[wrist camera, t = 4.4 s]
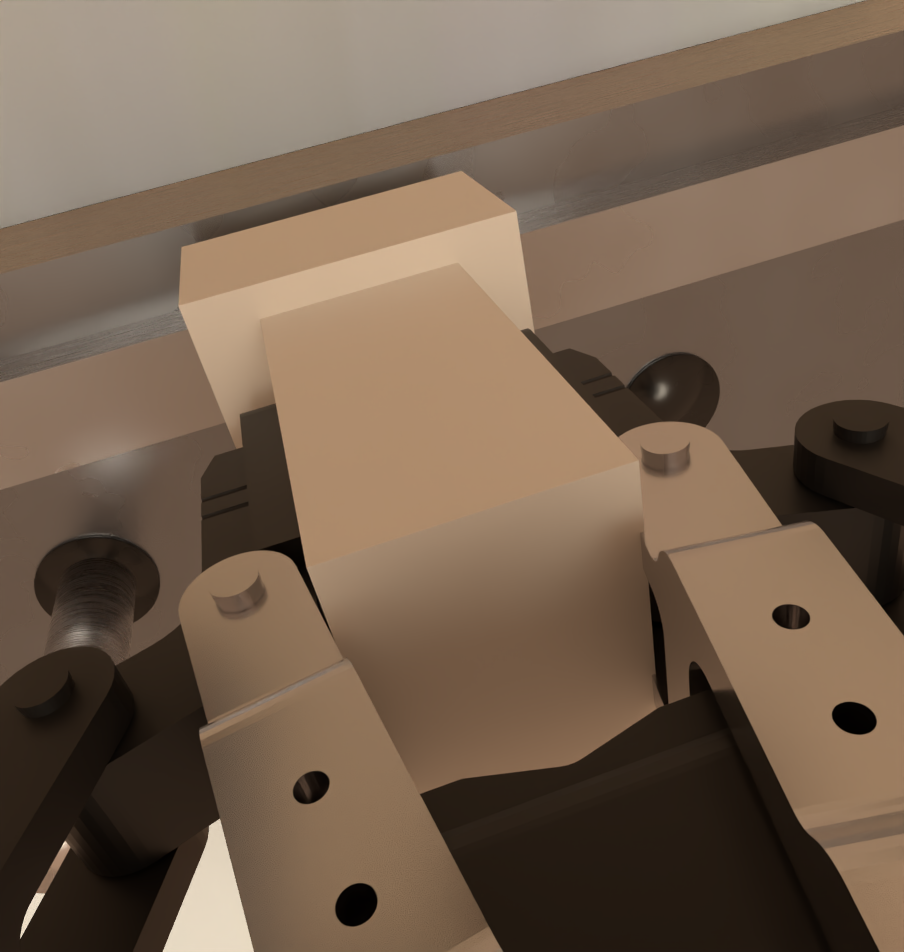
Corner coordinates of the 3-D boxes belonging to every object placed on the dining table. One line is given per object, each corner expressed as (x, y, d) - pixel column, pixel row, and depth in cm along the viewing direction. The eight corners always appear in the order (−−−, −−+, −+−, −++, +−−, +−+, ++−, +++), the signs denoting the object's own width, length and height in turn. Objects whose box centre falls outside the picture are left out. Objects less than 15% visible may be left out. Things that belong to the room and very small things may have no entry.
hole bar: (-311, 311, 17) (-878, 684, 8) (875, -2, 20) (1422, 15, 11) (-52, 648, 23) (-216, 1091, 14) (845, 362, 26) (1193, 569, 17)
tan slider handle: (182, 231, 15) (165, 560, 6) (447, 160, 15) (742, 376, 7) (316, 582, 19) (405, 1032, 11) (514, 517, 20) (740, 899, 12)
